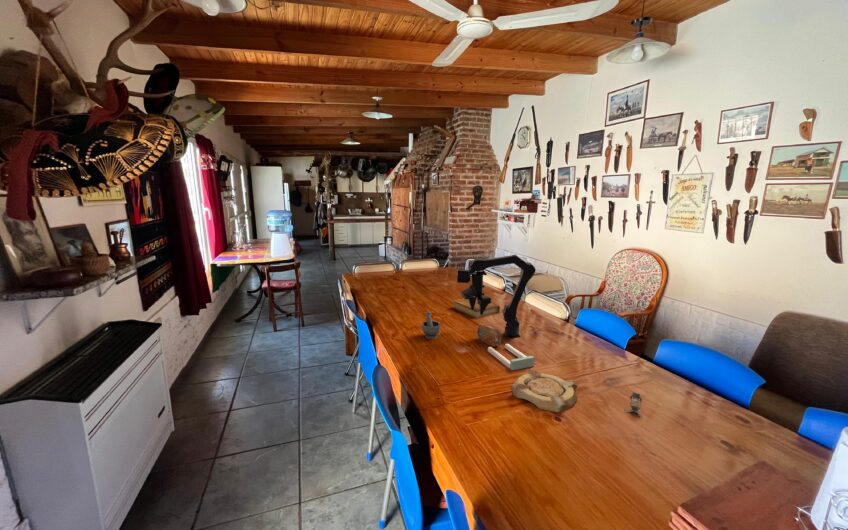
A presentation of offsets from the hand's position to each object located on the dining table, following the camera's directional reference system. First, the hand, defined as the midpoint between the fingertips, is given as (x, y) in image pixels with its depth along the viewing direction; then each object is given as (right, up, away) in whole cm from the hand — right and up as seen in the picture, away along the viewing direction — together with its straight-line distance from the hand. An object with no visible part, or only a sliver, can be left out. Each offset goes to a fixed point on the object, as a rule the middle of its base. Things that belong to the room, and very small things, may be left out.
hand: (476, 312), depth 180 cm
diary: (+6, -5, +40) cm, 40 cm away
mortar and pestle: (-24, -13, -1) cm, 27 cm away
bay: (+11, -17, -25) cm, 32 cm away
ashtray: (+17, -23, -53) cm, 60 cm away
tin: (+5, -14, -9) cm, 17 cm away
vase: (+44, -25, -63) cm, 81 cm away
